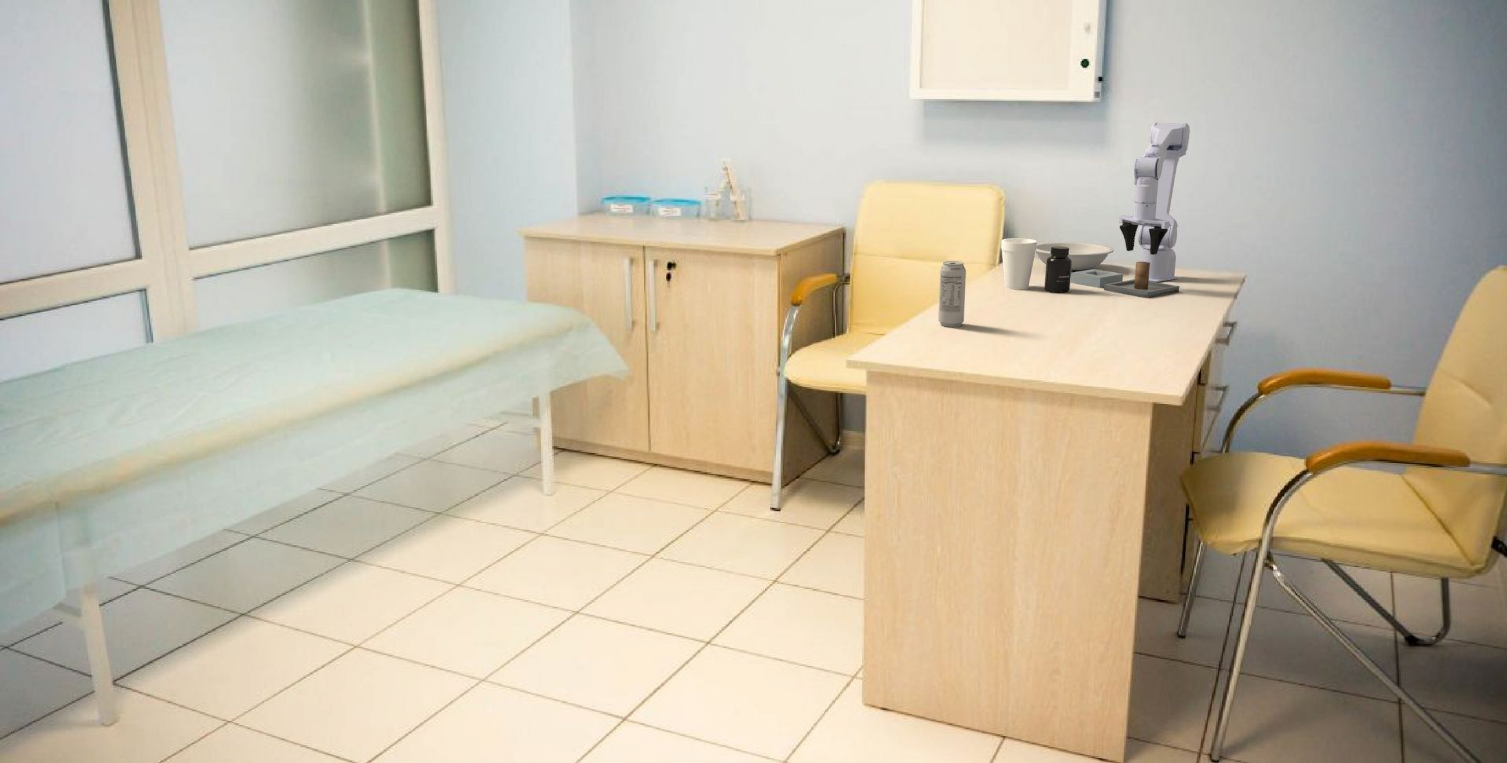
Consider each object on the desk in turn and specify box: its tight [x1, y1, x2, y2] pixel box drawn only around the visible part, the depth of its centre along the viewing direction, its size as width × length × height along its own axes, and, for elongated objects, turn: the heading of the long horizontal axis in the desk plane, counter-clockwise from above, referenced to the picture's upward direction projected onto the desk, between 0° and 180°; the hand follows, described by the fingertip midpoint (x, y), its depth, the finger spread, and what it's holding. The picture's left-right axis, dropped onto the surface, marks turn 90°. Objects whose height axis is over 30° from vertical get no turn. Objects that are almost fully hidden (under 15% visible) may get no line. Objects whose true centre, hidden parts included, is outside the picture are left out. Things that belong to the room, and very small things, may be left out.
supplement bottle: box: [1043, 246, 1072, 294], centre depth 337 cm, size 7×7×12 cm
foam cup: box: [1000, 237, 1038, 291], centre depth 342 cm, size 10×9×13 cm
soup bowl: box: [1035, 241, 1115, 272], centre depth 371 cm, size 24×24×7 cm
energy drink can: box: [938, 260, 967, 328], centre depth 296 cm, size 6×6×15 cm
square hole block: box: [1070, 268, 1124, 289], centre depth 350 cm, size 10×10×3 cm
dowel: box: [1134, 261, 1150, 289], centre depth 337 cm, size 4×4×7 cm
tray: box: [1103, 278, 1180, 299], centre depth 338 cm, size 14×14×2 cm
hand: (1141, 252), depth 338 cm, fingers open, 7 cm apart
